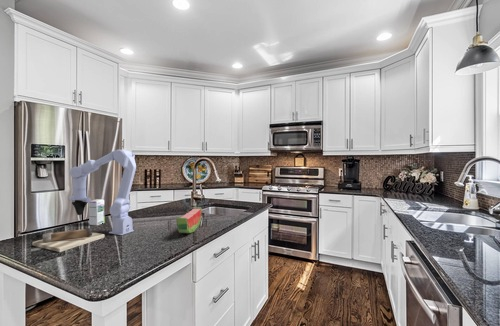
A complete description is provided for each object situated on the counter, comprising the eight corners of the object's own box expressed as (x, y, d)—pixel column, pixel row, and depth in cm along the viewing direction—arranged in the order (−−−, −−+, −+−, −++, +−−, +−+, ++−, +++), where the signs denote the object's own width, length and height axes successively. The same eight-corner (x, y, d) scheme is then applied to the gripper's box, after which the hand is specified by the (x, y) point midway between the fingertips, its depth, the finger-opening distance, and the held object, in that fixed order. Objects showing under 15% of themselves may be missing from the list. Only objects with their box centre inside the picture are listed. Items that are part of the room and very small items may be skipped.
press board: (104, 237, 119) (104, 234, 119) (59, 252, 100) (59, 248, 100) (78, 232, 127) (78, 229, 127) (32, 245, 108) (32, 241, 108)
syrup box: (97, 225, 140) (97, 200, 139) (88, 224, 141) (88, 200, 141) (105, 222, 145) (104, 199, 145) (96, 222, 146) (96, 198, 146)
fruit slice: (192, 223, 144) (192, 207, 144) (202, 223, 143) (202, 207, 143) (175, 238, 118) (175, 218, 118) (187, 238, 117) (187, 218, 117)
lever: (41, 242, 106) (41, 235, 106) (44, 240, 109) (43, 233, 109) (91, 235, 115) (91, 229, 115) (92, 233, 118) (92, 227, 118)
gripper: (62, 189, 126) (63, 215, 126) (80, 190, 120) (81, 217, 121) (76, 187, 132) (77, 212, 133) (94, 189, 127) (94, 214, 127)
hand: (80, 214), depth 127 cm, fingers closed
